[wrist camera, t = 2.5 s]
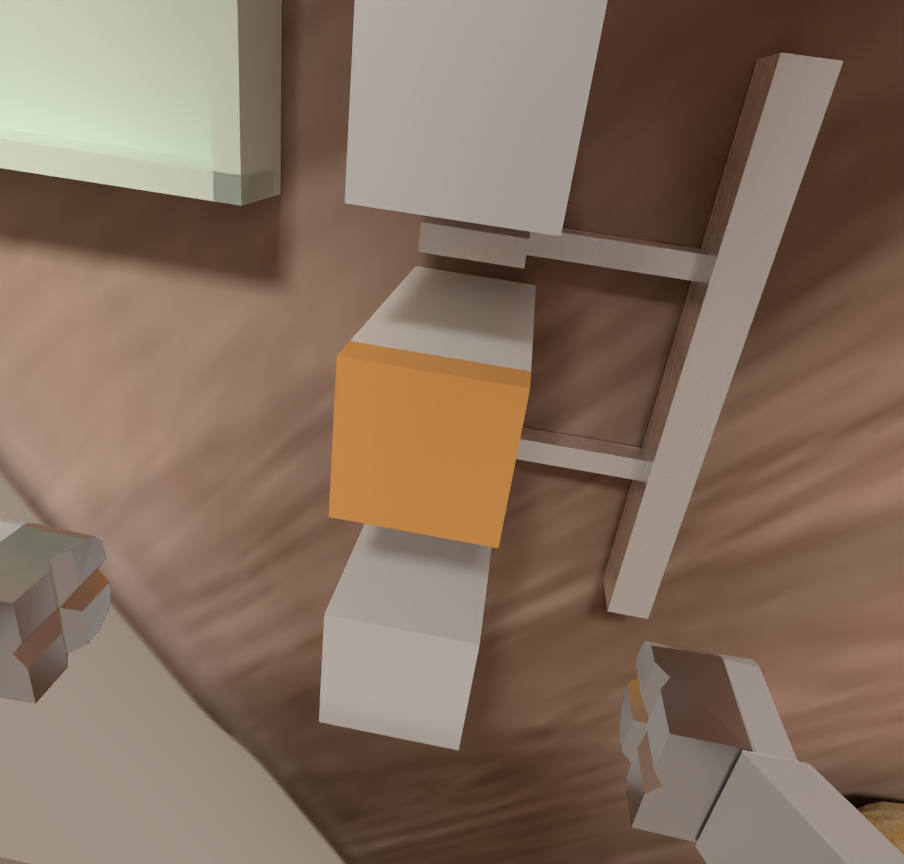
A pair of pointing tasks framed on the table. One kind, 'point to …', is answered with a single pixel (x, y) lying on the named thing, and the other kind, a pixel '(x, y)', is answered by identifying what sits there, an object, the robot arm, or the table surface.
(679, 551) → the table surface
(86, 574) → the robot arm
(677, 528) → the rail
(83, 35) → the tray
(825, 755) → the table surface
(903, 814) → the rough brown rock
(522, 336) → the block
